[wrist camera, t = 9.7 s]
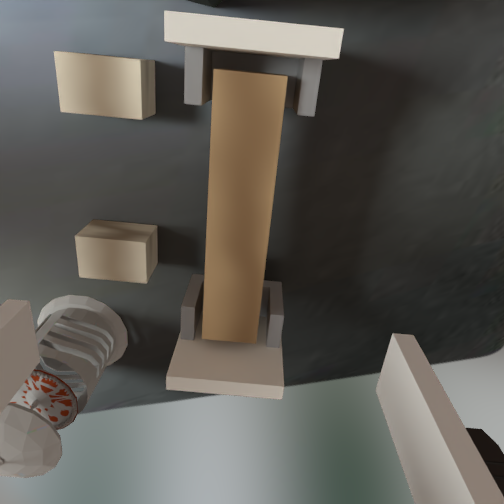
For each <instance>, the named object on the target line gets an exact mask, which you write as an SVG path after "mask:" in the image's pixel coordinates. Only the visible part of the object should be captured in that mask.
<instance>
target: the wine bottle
mask: <svg viewBox="0 0 504 504" xmlns="http://www.w3.org/2000/svg"><path fill="white" fill-rule="evenodd" d="M188 1H192V2H196V3H199V4H203V5H207V6H211V7H215V6H216V5H218V4H219V3H220V2H222V1H223V0H188Z"/></svg>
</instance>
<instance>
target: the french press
mask: <svg viewBox="0 0 504 504" xmlns="http://www.w3.org/2000/svg"><path fill="white" fill-rule="evenodd" d="M37 323H38V327H37V328H36V329H35V334H36V340H37V345H38V351H39V356H40V357H41V358H42V360H43V361H44V363H45V365H46V366H47V367H49V368H51V369H53V370H55V371H75V372H76V373H78V375H53V374H51V373H49V372H47V371H45V370H43V368H42V366H41V365H40V363H39V364H38V365H37V366H36V368H37V370H35V369H34V370H33V371H32V373H31V374H30V375H29V377H28V378H27V379H26V381H25V382H24V383H23V385H22V386H21V387H20V389H19V390H18V391H17V393H16V394H15V395H14V397H13V398H12V399H11V401H10V402H9V403H8V405H7V406H6V407H5V409H4V410H3V411H2V413H1V414H0V476H7V477H20V478H29V477H34V476H40V475H44V474H45V473H47V472H48V471H50V470H51V469H53V468H55V467H56V465H57V463H58V461H59V460H60V458H61V456H62V446H61V438H60V435H59V433H58V432H57V431H56V430H58V429H63V428H65V427H66V426H68V425H69V424H71V423H72V422H74V420H75V418H76V416H77V414H79V413H80V412H81V411H82V410H83V409H84V407H85V405H86V404H87V402H88V400H89V398H90V396H91V394H92V392H93V390H94V389H95V387H96V385H97V383H98V381H99V379H100V377H101V375H102V374H103V372H104V370H105V368H106V366H108V365H111V364H112V363H114V362H115V361H117V360H118V359H119V358H121V357H122V355H123V353H124V351H125V349H126V347H127V345H128V340H127V330H126V328H125V326H124V324H123V322H122V320H121V318H120V316H119V315H117V314H116V313H115V312H114V311H113V310H112V309H111V308H110V307H108V306H107V305H106V304H104V303H102V302H99V301H97V300H95V299H93V298H90V297H87V296H77V295H67V296H63V297H59V298H56V299H53V300H52V301H51V302H49V303H48V304H47V305H46V306H45V307H43V308H42V310H41V313H40V316H39V318H38V321H37ZM70 379H82V380H83V382H81V383H65V382H63V381H62V380H70ZM77 387H85V388H84V390H83V391H77V392H73V391H72V390H71V388H77ZM79 396H80V397H79ZM77 397H79V399H78V401H77Z"/></svg>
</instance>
